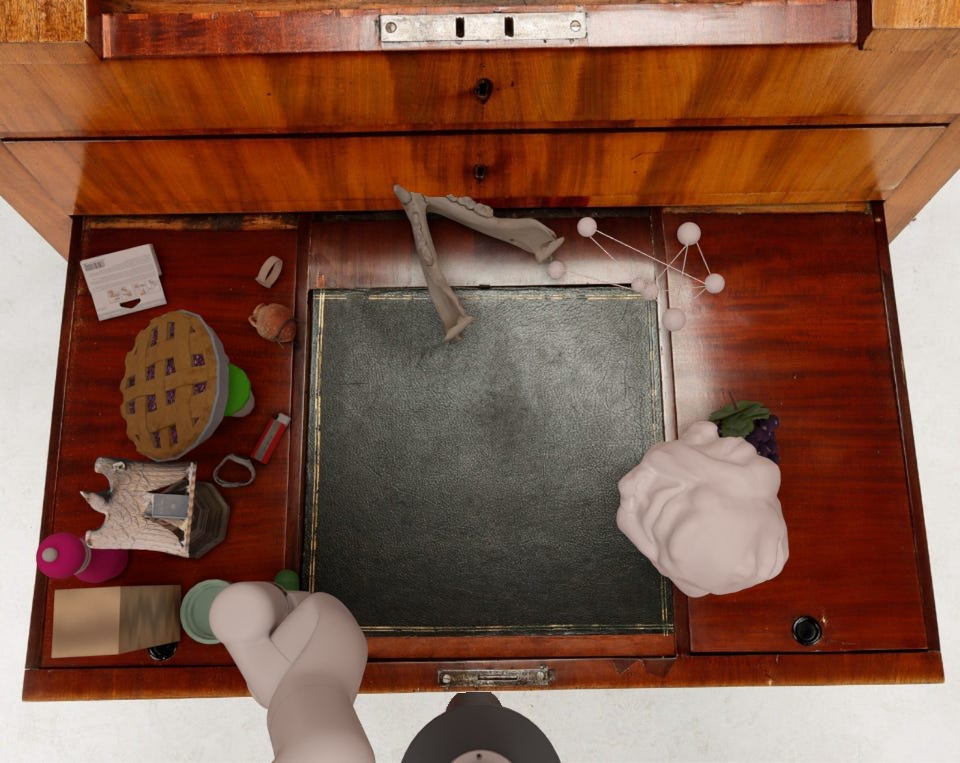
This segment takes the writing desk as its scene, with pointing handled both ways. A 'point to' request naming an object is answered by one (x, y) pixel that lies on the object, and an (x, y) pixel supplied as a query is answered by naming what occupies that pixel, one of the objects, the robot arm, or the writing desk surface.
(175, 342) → the pie
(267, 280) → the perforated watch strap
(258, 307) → the pot
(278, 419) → the lighter
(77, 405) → the writing desk surface
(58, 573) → the pepper mill
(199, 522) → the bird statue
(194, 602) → the pale green round dish
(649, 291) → the molecule model
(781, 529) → the head sculpture
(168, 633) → the oak stand
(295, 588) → the cucumber
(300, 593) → the robot arm
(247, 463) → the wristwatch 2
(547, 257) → the jawbone
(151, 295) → the ink cartridge box
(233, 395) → the cup
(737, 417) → the fruit
